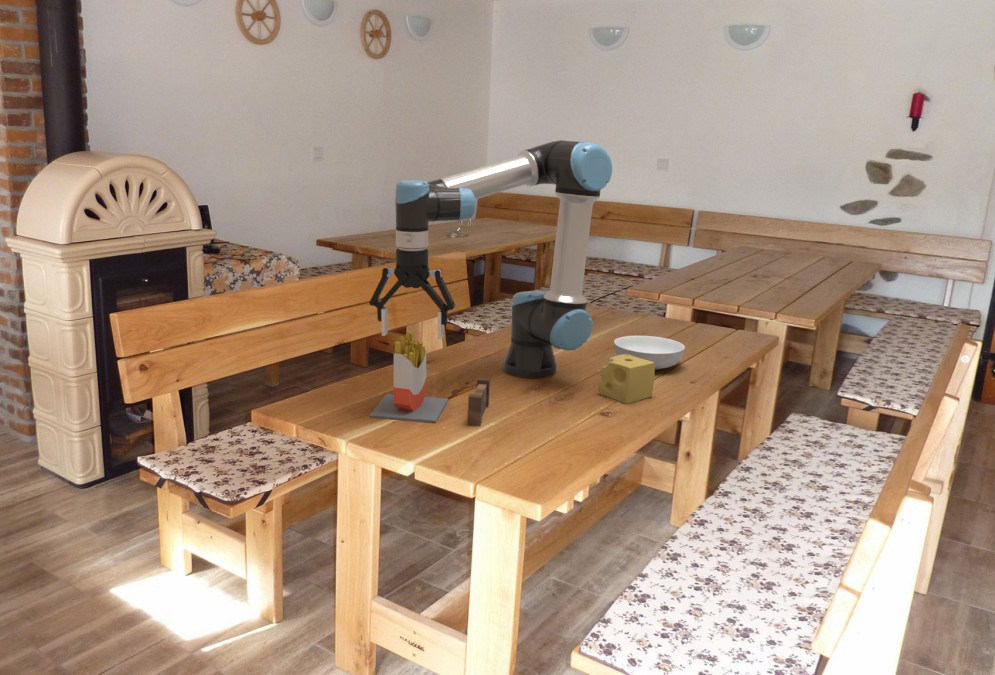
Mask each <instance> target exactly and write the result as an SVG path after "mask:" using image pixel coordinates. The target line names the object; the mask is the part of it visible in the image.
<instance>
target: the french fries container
mask: <svg viewBox="0 0 995 675" xmlns="http://www.w3.org/2000/svg"><path fill="white" fill-rule="evenodd" d="M426 393H427V350H426V346H425V345H424V344H423V341H422V340H420V339H418V340H417V342H416V340H415V339H414V332H413V331H407V332H406V334H405V336H400V339H399V341H398V340H397V341H394V352H393V393H392V394H393V403H394V404H395V406H396V407H397V409H401V410H408V411H415V410H416V409H417V408H418V407H419V406H421V405H422V403H423V400H424V397H426Z"/></svg>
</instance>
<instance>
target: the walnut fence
mask: <svg viewBox="0 0 995 675" xmlns="http://www.w3.org/2000/svg"><path fill="white" fill-rule="evenodd" d="M490 387H491V378H490V377H480V376H478V377H477V379H476V389H475V391H474V393H470V394H469V395H468V401H467V403H468V405H467V406H468V407H467V425H468V426H476V425H478V426H479V427H480V426H482V421H483V418H482V417H483V416H484V413H485V411H486V408H489V406H490V389H491V388H490ZM484 410H485V411H484Z"/></svg>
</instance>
